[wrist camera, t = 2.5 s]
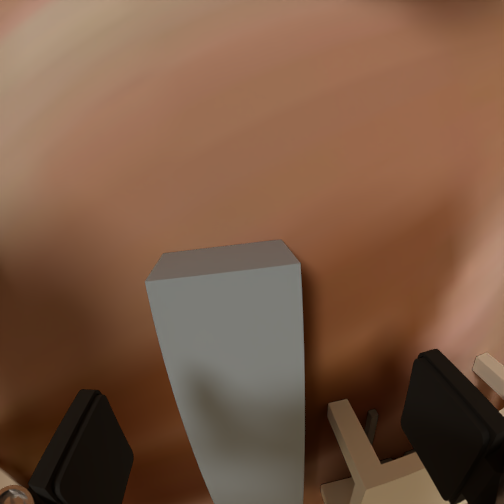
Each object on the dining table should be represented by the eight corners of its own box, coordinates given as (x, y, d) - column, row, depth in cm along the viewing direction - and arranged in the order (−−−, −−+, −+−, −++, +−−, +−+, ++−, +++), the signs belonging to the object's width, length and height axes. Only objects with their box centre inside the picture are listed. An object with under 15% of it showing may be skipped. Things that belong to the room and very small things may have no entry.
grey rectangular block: (163, 253, 17) (144, 281, 13) (281, 239, 17) (300, 263, 13) (225, 496, 23) (227, 533, 19) (293, 487, 24) (302, 523, 19)
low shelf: (328, 403, 21) (365, 489, 13) (486, 352, 22) (542, 399, 14) (320, 491, 24) (340, 555, 16) (451, 446, 25) (484, 492, 17)
